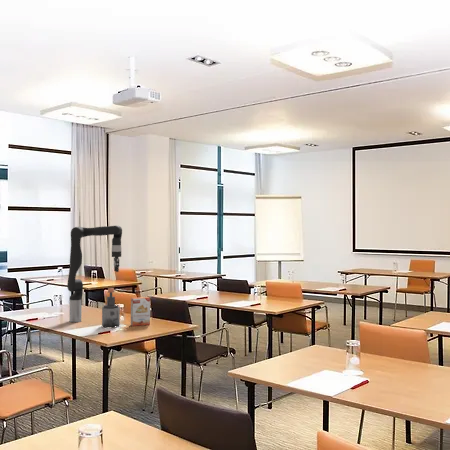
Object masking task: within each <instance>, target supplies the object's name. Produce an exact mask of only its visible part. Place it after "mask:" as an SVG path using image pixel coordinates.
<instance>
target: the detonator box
mask: <svg viewBox="0 0 450 450" xmlns="http://www.w3.org/2000/svg"><path fill="white" fill-rule="evenodd" d="M116 305H117V306H116ZM120 309H121V307H120V306H119V304H116V296H113V295H112V297H110V296H106V304H104V305H103V306H102V308H101V327H102V326H103V327H102V328H107V327H112V328H116V327H115V326H118V327H120V326H121V325H120V324H121V323H120V318H121V317H120V316H121V315H120V313H121V312H120ZM119 325H120V326H119Z"/></svg>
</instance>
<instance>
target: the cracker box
mask: <svg viewBox="0 0 450 450" xmlns="http://www.w3.org/2000/svg"><path fill="white" fill-rule="evenodd" d="M149 325H151V298H150V297H147V296H144V297H131V298H130V326H131V327H137V326H139V327H140V326H149Z"/></svg>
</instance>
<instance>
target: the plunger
mask: <svg viewBox="0 0 450 450" xmlns="http://www.w3.org/2000/svg"><path fill="white" fill-rule="evenodd" d="M107 293H109V297H112V296H113V294H114V293H115V288H114V287H108V288H107Z"/></svg>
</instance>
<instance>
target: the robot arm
mask: <svg viewBox="0 0 450 450" xmlns="http://www.w3.org/2000/svg"><path fill="white" fill-rule="evenodd" d="M108 235H109V236H110V235H113V237H112V239H111V258H113V271H114V272H116V273H119V271H120V269H119V268H120V258H121V257H122V236H123V228H122V227H121V226H120V225H109V226H108V225H107V226H95V227H84V226H83V227H82V226H74V227H73V228H72V229H71V230H70V254H69V270H68V279H67V290H68V292H70V293H71V292H73V294H71V295H69V322H71V323H80V322H82V312H83V311H82V308H83V307H82V305H83V304H82V301H83V300H82V297H83V290H84V285H83V284H84V283H83V280H81V279H79V278H77V273H78V271H79V270H80V268H81V266H82V265H83V263H82V262H83V252H82V249H81V240H82V238H85V237H90V236H94V237H95V236H97V237H98V236H108Z"/></svg>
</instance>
